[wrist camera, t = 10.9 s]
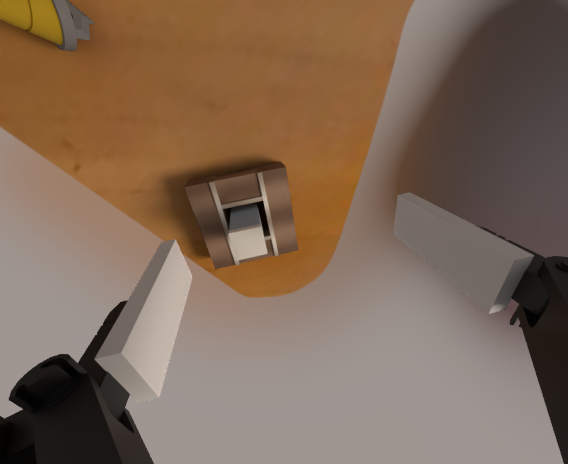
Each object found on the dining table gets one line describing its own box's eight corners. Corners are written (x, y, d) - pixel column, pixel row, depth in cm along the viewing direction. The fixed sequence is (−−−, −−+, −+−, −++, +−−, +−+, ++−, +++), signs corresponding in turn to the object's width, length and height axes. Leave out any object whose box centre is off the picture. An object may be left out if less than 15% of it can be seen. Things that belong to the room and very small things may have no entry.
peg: (231, 204, 36) (228, 233, 27) (256, 199, 36) (261, 226, 28) (237, 227, 38) (236, 260, 29) (261, 221, 38) (267, 253, 30)
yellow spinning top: (107, 66, 26) (-24, 56, 19) (81, 24, 26) (-62, -2, 19) (110, 21, 22) (-52, -12, 16) (79, -29, 22) (-101, -86, 15)
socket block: (189, 180, 33) (183, 187, 30) (281, 162, 34) (286, 167, 31) (217, 257, 40) (215, 270, 37) (293, 240, 41) (298, 251, 38)
